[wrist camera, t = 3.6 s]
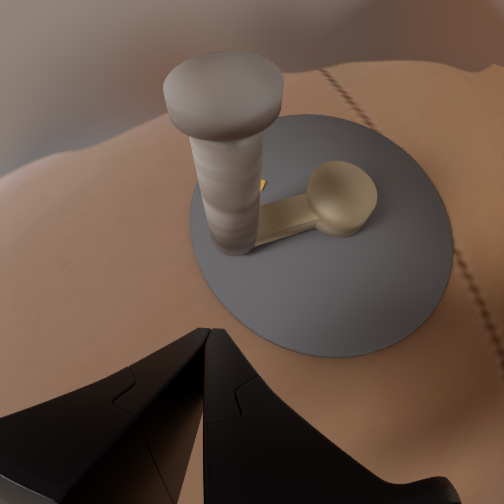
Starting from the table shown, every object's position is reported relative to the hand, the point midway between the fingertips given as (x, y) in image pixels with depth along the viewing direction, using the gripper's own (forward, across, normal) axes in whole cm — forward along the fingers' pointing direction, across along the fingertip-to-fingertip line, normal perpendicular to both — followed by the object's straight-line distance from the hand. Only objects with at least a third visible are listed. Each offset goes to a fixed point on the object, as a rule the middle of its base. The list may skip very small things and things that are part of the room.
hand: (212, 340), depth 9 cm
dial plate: (+16, +8, 0) cm, 18 cm away
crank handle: (+14, +4, 0) cm, 15 cm away
